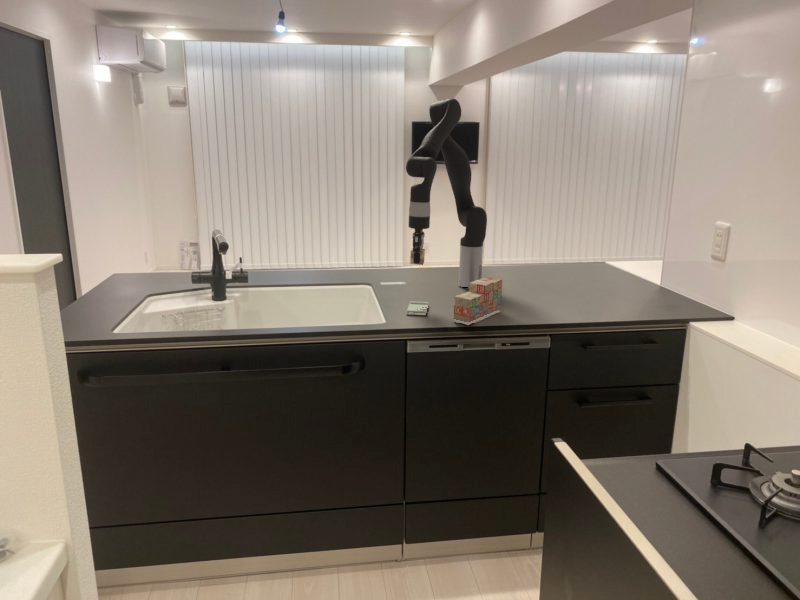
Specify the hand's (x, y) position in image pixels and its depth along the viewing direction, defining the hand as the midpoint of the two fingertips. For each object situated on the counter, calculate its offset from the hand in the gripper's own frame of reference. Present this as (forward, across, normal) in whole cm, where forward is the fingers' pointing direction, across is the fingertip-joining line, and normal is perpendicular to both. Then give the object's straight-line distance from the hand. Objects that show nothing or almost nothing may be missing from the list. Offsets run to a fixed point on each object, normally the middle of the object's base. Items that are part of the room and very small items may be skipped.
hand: (417, 261), depth 214 cm
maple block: (+1, 0, 0) cm, 1 cm away
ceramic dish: (+16, -8, -2) cm, 18 cm away
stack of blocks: (+16, -12, -23) cm, 31 cm away
